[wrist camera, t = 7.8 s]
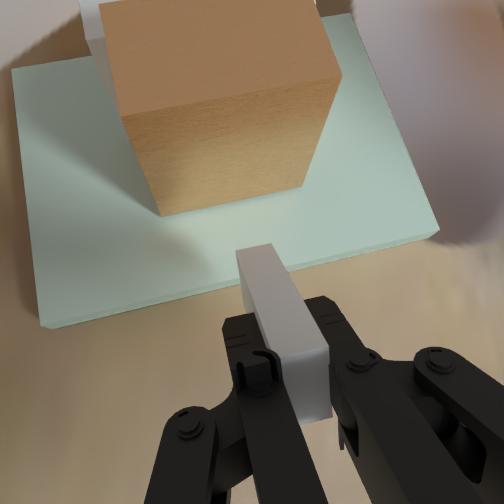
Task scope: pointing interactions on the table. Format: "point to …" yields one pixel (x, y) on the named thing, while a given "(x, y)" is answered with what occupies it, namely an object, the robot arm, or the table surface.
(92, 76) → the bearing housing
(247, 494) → the table surface
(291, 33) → the cardboard box
